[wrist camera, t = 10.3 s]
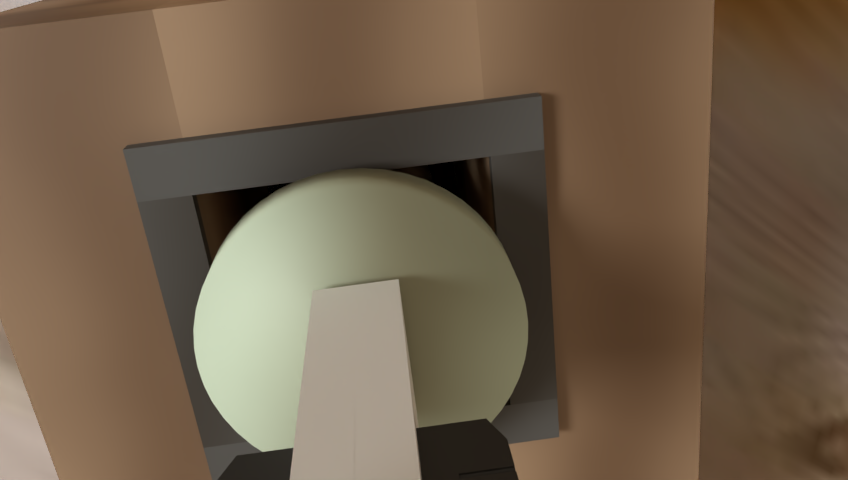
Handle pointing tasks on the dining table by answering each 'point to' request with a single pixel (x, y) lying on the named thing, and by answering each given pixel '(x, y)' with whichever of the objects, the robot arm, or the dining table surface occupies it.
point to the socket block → (348, 149)
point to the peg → (351, 265)
